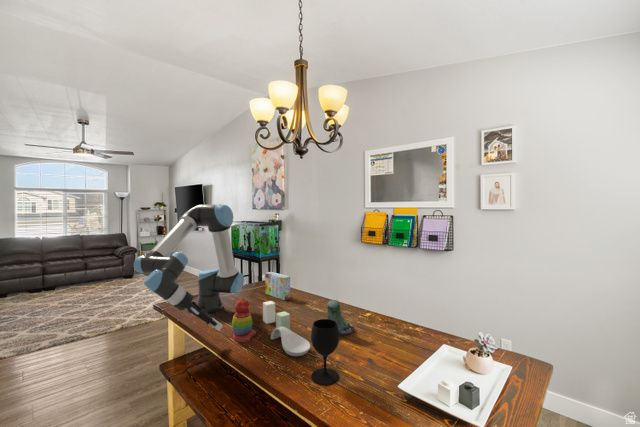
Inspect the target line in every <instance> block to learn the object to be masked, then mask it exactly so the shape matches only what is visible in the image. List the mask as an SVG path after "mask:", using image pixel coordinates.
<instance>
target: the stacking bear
mask: <svg viewBox="0 0 640 427" xmlns="http://www.w3.org/2000/svg"><path fill="white" fill-rule="evenodd" d="M234 309H235V313H234V314H233V316H232V321H231V328H232V333H233V334H232V339H233V340H234V341H236V342H239V343H244V344H245V343H249V342H250V341H251V338H252V337H255V336H256V334H257V331H256V330H255V329H252V328H253V318H252V314H251V312H250V310H251V309H252V304H250V302H249V301H248V300H246V299H245V298H242V299H240V300H238V301H236V302H235V305H234Z"/></svg>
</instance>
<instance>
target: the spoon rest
mask: <svg viewBox="0 0 640 427" xmlns="http://www.w3.org/2000/svg"><path fill="white" fill-rule="evenodd" d="M280 333H281V337H280ZM279 338H281V346H282V348H283V351H284V352H285V353H286V354H287V355H288V356H291V357H301V356H304V355H306V354H307V353H308V352H310V351H309V350H310V349H311V346H312V345H311V343H310V342H309V341H308V340H307V339H306V338H305V337H302V336H301V335H298V334H297V333H295V332H294V331H292V330H291V329H290V330H289V329H287V328H285V327H279V328H276V327H275V328H274V329H273V330H272V331H271V334H270V340H275V339H279Z"/></svg>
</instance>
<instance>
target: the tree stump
mask: <svg viewBox="0 0 640 427" xmlns="http://www.w3.org/2000/svg"><path fill="white" fill-rule="evenodd" d="M326 305H327V310H326V311H327V312H326V319H330V320H333V321H335V322H336V323H337V326H338V330H339V337H340V336H344V335H345V336H347V335H350V334H352V333H353V331H354V330H355V327H354V325H353V324H352V323H350V322H348V321H347V320H346V319H345V318H344V317H343V315H342V312H341V307H340V306H341V305H340V301H339V300H337V299H332V300H329V301H328V302H327V304H326Z"/></svg>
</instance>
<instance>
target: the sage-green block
mask: <svg viewBox="0 0 640 427" xmlns="http://www.w3.org/2000/svg"><path fill="white" fill-rule="evenodd" d="M279 327H285V328H287V329H289V330H291V314H290V313H289V312H287V311H285V310H284V311H281V312H280V311H279V312H277V313H276V312H275V329H276V328H279ZM279 338H281V333H280V337H279Z"/></svg>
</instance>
